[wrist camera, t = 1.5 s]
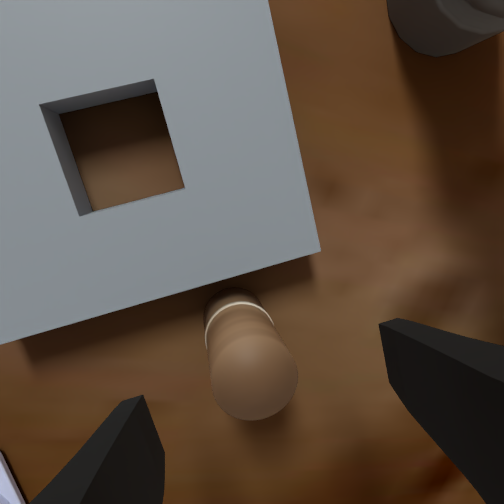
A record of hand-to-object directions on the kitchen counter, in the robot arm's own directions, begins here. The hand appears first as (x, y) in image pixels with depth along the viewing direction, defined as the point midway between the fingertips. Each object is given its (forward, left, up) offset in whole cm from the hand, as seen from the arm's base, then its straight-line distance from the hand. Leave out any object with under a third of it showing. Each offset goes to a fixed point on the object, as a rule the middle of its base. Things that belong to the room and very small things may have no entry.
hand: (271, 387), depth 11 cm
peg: (-2, 0, -10) cm, 11 cm away
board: (+8, +3, -10) cm, 14 cm away
